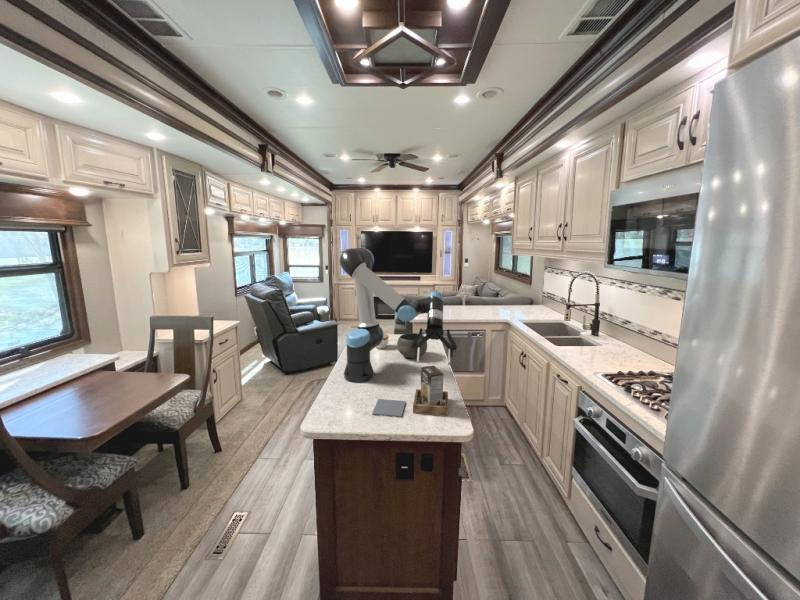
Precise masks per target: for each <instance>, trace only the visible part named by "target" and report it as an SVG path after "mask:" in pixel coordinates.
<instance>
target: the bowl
mask: <svg viewBox="0 0 800 600" xmlns="http://www.w3.org/2000/svg"><path fill="white" fill-rule="evenodd" d="M418 334H419V332H418V333H417V332H409V333H404V334H401V335H400V336H399V337H398V339H397V343H396V346H397V351H398V352H399V353H400V354H401V355H402V356H404V357H406V358H409V359H417V356H415V348H412V343H413V341H414V340H415V338H416V337H417V335H418ZM425 336H426V335H425V334H423V335H422V336H421V338H420V339H419V341H418V343H419V342H420V341H421V340H422V339H423V338H424V337H425ZM418 343H417V344H418ZM417 344H416V345H417ZM427 349H428V340H427V341H426V342H425V343H424V344H423V345H422V346H421V347H420V354H419V358H420V357H422V356H424V355H425V353H426V352H427Z"/></svg>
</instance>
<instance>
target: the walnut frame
mask: <svg viewBox="0 0 800 600" xmlns="http://www.w3.org/2000/svg"><path fill="white" fill-rule="evenodd" d="M420 397H421V388H419V389H418V388H417V389H415V394H414V399H413V402H412V403H413V404H412V414H420V413H421V414H422V415H423V414H424V415H432V414H433V416H444V417H445V416H446V417H447V416H448V415H449V412H448V411H449V391H444V390H443V398H442V401H443V400H445V401H444V403H445V404H444V406H443V405H442V406H435V405H423V404H422V403H418V399H419V398H420Z"/></svg>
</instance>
